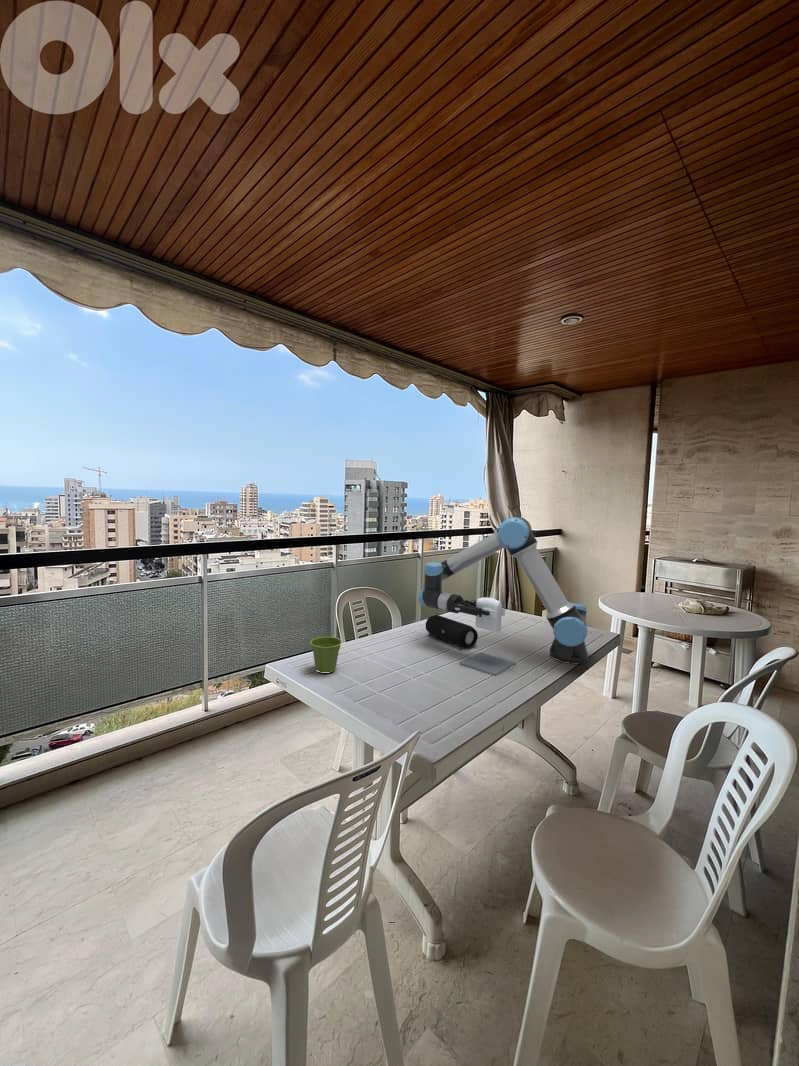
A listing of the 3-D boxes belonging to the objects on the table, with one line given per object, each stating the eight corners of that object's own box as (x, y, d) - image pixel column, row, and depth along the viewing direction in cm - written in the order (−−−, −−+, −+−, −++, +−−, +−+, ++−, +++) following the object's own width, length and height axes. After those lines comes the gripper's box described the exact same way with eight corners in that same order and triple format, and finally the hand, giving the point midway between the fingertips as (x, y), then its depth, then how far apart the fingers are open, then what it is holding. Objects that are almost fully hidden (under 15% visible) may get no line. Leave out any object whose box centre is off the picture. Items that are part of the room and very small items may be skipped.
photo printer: (502, 630, 170) (503, 599, 169) (497, 632, 166) (498, 601, 165) (479, 625, 176) (479, 595, 175) (473, 627, 173) (474, 596, 172)
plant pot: (325, 680, 155) (325, 649, 154) (303, 671, 162) (303, 642, 161) (348, 670, 165) (348, 640, 164) (326, 662, 172) (326, 634, 171)
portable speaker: (423, 636, 207) (424, 615, 206) (439, 632, 213) (439, 612, 212) (463, 651, 187) (464, 629, 186) (478, 647, 193) (479, 625, 192)
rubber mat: (515, 664, 173) (515, 662, 173) (495, 676, 162) (495, 674, 162) (481, 654, 184) (481, 652, 184) (459, 664, 172) (459, 662, 172)
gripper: (462, 607, 189) (511, 618, 174) (438, 615, 176) (489, 628, 161) (463, 590, 189) (512, 600, 173) (438, 597, 176) (489, 608, 160)
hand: (501, 613), depth 167 cm, fingers closed on photo printer, 4 cm apart
